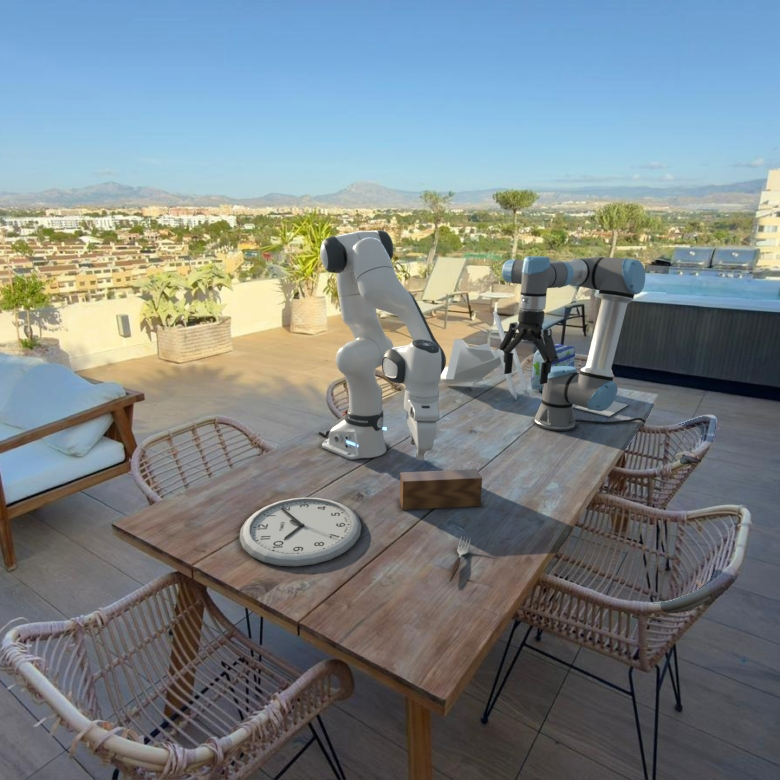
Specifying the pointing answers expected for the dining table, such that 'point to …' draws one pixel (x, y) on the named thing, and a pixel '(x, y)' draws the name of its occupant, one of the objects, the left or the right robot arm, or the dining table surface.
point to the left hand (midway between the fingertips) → (416, 451)
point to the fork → (461, 551)
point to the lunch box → (564, 359)
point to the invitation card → (609, 411)
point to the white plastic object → (479, 363)
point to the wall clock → (300, 532)
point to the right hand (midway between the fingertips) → (525, 378)
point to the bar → (440, 489)
